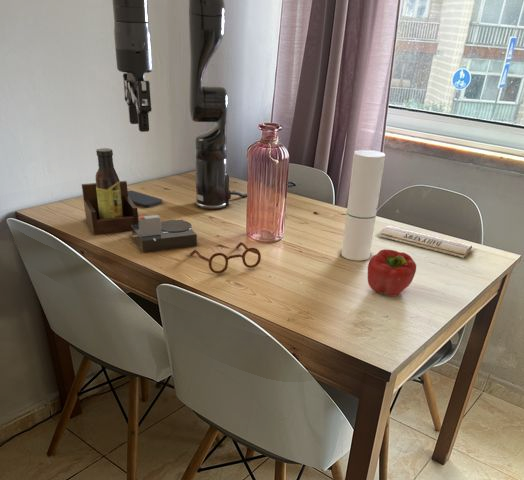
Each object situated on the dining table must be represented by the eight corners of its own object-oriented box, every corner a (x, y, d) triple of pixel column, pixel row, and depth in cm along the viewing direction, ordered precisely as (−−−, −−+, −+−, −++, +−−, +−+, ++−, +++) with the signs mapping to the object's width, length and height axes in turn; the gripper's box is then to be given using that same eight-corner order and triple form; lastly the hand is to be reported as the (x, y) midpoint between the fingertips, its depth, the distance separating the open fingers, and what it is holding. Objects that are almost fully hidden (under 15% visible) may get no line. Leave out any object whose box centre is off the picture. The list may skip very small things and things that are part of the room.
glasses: (210, 276, 125) (210, 256, 122) (189, 255, 135) (188, 236, 132) (261, 267, 130) (262, 247, 128) (237, 248, 140) (238, 229, 137)
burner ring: (185, 219, 148) (185, 218, 148) (196, 229, 141) (196, 229, 141) (153, 222, 145) (153, 221, 145) (162, 233, 138) (162, 233, 138)
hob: (182, 230, 150) (182, 218, 148) (198, 247, 140) (198, 235, 138) (125, 236, 144) (124, 224, 142) (137, 254, 134) (136, 242, 132)
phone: (130, 190, 175) (164, 199, 168) (131, 192, 176) (164, 202, 168) (112, 195, 170) (146, 205, 163) (113, 197, 171) (146, 208, 163)
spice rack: (128, 215, 158) (125, 180, 152) (139, 229, 148) (136, 192, 143) (86, 219, 153) (81, 184, 148) (94, 234, 144) (89, 196, 139)
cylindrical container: (371, 252, 141) (387, 152, 128) (366, 262, 136) (382, 158, 122) (344, 247, 143) (357, 148, 130) (338, 257, 137) (351, 154, 124)
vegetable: (420, 302, 118) (429, 259, 113) (375, 305, 116) (383, 261, 111) (399, 280, 127) (407, 240, 122) (357, 283, 125) (363, 241, 120)
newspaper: (471, 250, 146) (472, 243, 145) (463, 258, 141) (464, 251, 140) (388, 229, 156) (389, 223, 155) (378, 236, 151) (379, 230, 150)
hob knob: (159, 231, 139) (157, 213, 136) (161, 234, 138) (160, 216, 135) (139, 234, 137) (138, 215, 135) (141, 236, 136) (140, 218, 133)
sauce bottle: (120, 229, 148) (112, 153, 137) (97, 228, 148) (88, 152, 137) (126, 221, 154) (119, 147, 143) (104, 220, 154) (95, 146, 143)
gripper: (108, 43, 120) (116, 122, 129) (123, 49, 109) (130, 134, 118) (142, 43, 123) (147, 120, 131) (159, 49, 112) (164, 133, 121)
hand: (139, 127), depth 125 cm, fingers open, 8 cm apart
